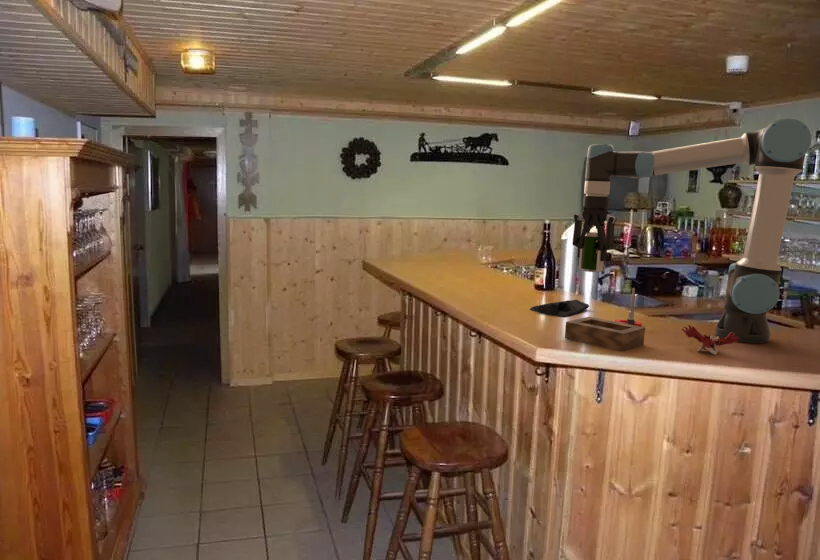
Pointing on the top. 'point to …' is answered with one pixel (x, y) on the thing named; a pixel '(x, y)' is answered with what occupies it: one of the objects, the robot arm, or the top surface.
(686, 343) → the top surface
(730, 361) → the top surface
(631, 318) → the grey and red post
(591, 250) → the beer can
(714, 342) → the figurine
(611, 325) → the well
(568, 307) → the dark slate chunk
